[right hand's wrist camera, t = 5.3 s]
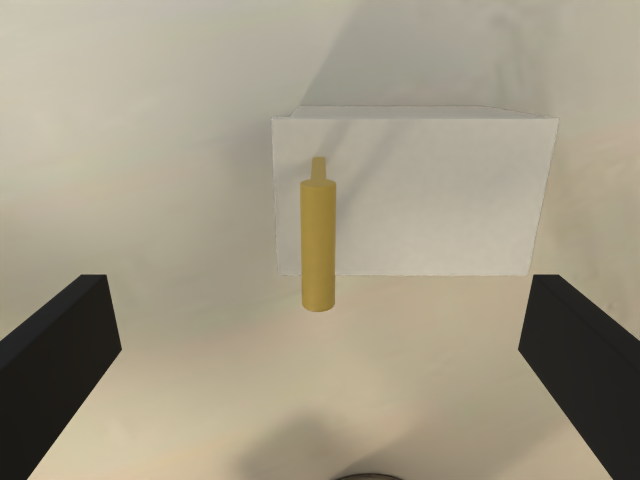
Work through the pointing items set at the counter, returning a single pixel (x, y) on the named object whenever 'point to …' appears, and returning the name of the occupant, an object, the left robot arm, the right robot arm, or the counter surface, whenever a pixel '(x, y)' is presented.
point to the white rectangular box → (406, 197)
